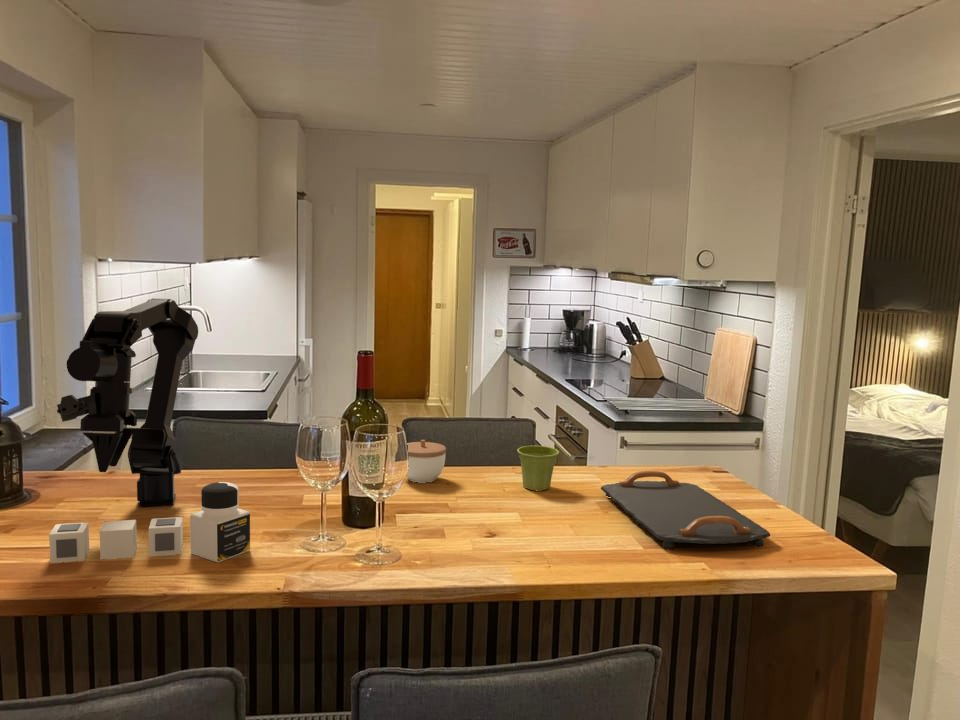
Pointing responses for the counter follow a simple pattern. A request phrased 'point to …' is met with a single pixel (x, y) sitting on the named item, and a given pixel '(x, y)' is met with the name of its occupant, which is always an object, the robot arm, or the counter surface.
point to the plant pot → (537, 466)
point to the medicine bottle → (220, 524)
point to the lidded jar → (425, 461)
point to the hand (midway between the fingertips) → (107, 469)
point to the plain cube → (118, 539)
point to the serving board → (682, 512)
